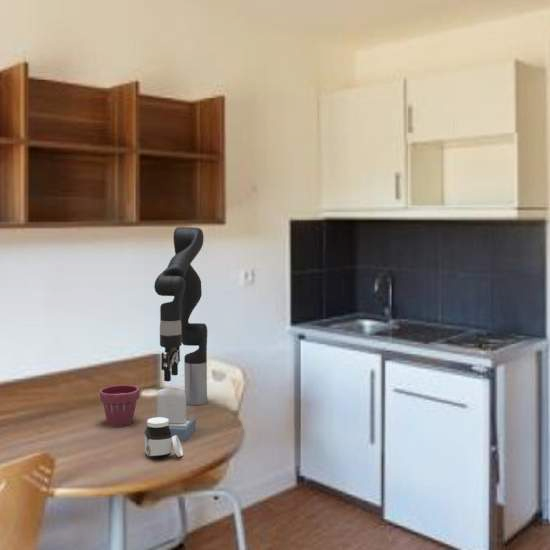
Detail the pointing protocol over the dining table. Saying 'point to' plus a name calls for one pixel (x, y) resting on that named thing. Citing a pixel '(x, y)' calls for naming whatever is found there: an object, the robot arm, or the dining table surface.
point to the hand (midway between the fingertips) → (171, 378)
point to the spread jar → (160, 439)
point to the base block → (183, 429)
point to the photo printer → (172, 405)
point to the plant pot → (119, 403)
